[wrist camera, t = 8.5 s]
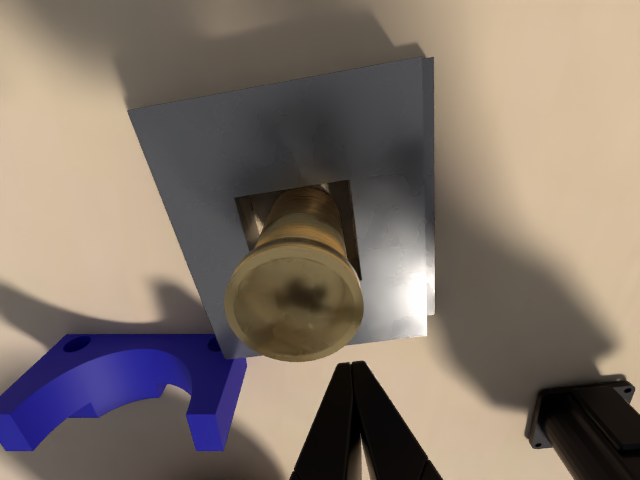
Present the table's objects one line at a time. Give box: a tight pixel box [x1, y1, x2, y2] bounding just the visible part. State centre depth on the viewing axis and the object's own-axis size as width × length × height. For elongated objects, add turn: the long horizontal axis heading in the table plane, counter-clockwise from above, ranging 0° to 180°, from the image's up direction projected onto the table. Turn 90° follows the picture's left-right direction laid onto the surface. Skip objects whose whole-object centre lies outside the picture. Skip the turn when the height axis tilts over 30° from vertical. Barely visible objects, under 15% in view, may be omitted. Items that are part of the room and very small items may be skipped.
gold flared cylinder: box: [224, 187, 364, 362], centre depth 14 cm, size 5×5×8 cm
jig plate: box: [127, 57, 435, 360], centre depth 16 cm, size 14×14×2 cm
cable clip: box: [0, 334, 247, 451], centre depth 19 cm, size 12×4×6 cm, turn 90°
